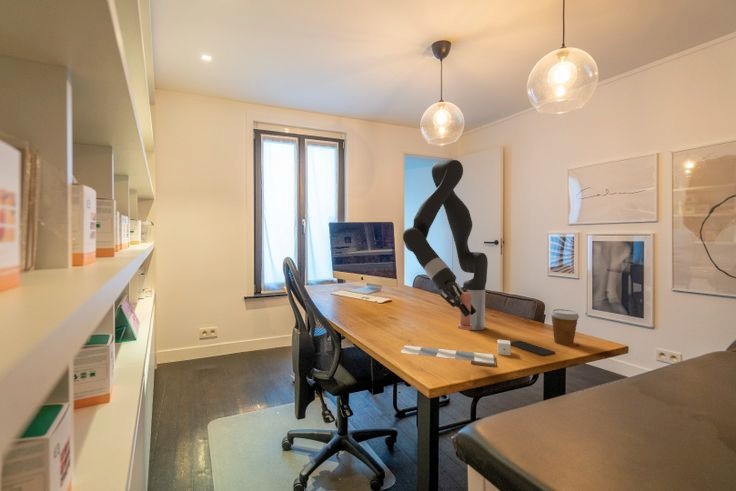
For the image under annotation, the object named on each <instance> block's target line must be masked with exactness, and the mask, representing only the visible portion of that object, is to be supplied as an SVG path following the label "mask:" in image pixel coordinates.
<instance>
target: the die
mask: <svg viewBox="0 0 736 491" xmlns="http://www.w3.org/2000/svg"><path fill="white" fill-rule="evenodd" d="M510 342H511V341H510V340H508V339H507V340H506V339H497V346H496V347H497V354H498V355H502V356H511V347H512V346H511V344H510Z"/></svg>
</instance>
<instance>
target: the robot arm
mask: <svg viewBox="0 0 736 491" xmlns="http://www.w3.org/2000/svg"><path fill="white" fill-rule="evenodd" d="M463 174H464V166H463V164H462V162H461V161H460V160H458V159H449V160H448V159H447V160H441V161H440V160H439V161H437V162H435V163H434V164H433V165H432V168H431V176H432V180H433V183H434V185H435V188H436V189H434V191H433V192H431V193H430V195H429V196H428V197H427V198H426V199H425V200H424V201H422V203H421V204H420V207H419V208H418V210H417V212H416V214H415V216H414V218H413V226H411V227H408V228H406V229H405V230H404V232H403V233H402V239H403V243H404V246H405V247H406V249H407V250H408V251H410V252H412V253H413V254H414V256H415V258H416V260H417V262H418V264H420V266H421V267H422V269H423V270H424V271H425V272H424V273H426V276H428V278H429V279H430V280H431V282H432V283H433V285H434V286H435V287H436V289H437V290H438V291H442V292H441V293H440V297H442V299H443V300H445V301H446V302H447V303H448V304H449V305H450V306H451V307H452V308H455V307H456V308H457V309H459V310H460V313H461V312H462V313H463V314H464V316H465V317H467V316H469V315H470V314H471V321H470V324H472V325H473V329H472V330H471V331H482V330H485V323H486V322H485V321H486V320H485V318H486V285H487V281H488V280H487V279H488V265H489V264H488V257H487V255H486V253H484V252H479V251H478V252H477V251H475V252H474V251H471V250H470V247H469V243H468V241H469V238H470V236H471V232H472V230H473V220H472V217H471V213H470V210H469V207H468V206H467V205H466V204H465V203H464V201H462V199H461V198H460V197H459V196H458V195H457V193H456V192H455V188H456V187H457V185H458V184H459V183H460V182H461V179H462V177H463ZM442 206H443V209H444V211H445V214H446V215H445V216H446V218H447V222H448V226H449V228H450V231H451V234H452V237H453V241H454V244H455V248H456V254H457V258H458V259H457V260H458V265H459V267H460V269H461V270H462V272H464V273H469V274H473V276H472V278H471V279H469V280H466V281H464V282H463V284H462V287H461V286H460V285H459V283H457V282H456V281H457V276H456V275H455V273H454V272H453V271H452V270H451V268H450V267H449V265H448V264H447V263H446V262H445V261H444V260H443V259H442V258H441V257H440V256H439V254H438V253H437V252H436V250H434V248H432V246H431V245H430V243H429V241H428V240H427V239H428V238H427V237H428V236H429V232H430V229H431V227H432V225H433V223H434V221H435V219H436V217H437V215H438V213H439V212H440V210H441V208H442ZM464 292H468V293H469V294H470V295H471V312H470V311H469V309H468V308H467V307H466V306H465V304H463V302H462V300H461V294H462V293H464Z"/></svg>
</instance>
